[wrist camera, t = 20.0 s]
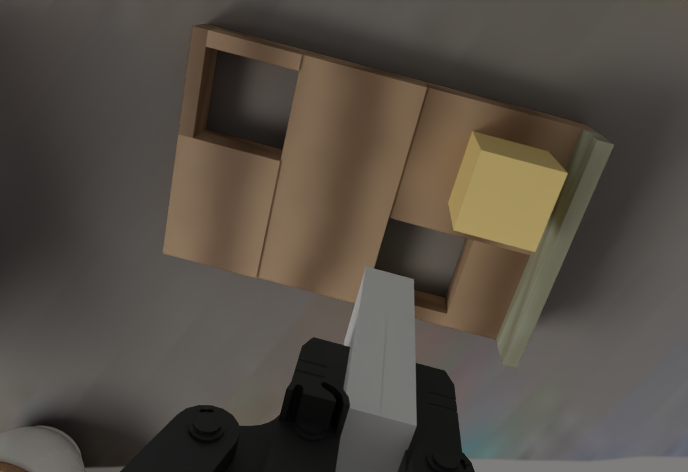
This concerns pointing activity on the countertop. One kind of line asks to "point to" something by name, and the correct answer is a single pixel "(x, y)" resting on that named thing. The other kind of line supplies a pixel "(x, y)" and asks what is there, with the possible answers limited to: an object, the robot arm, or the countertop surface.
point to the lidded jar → (39, 450)
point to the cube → (505, 191)
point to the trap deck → (366, 186)
